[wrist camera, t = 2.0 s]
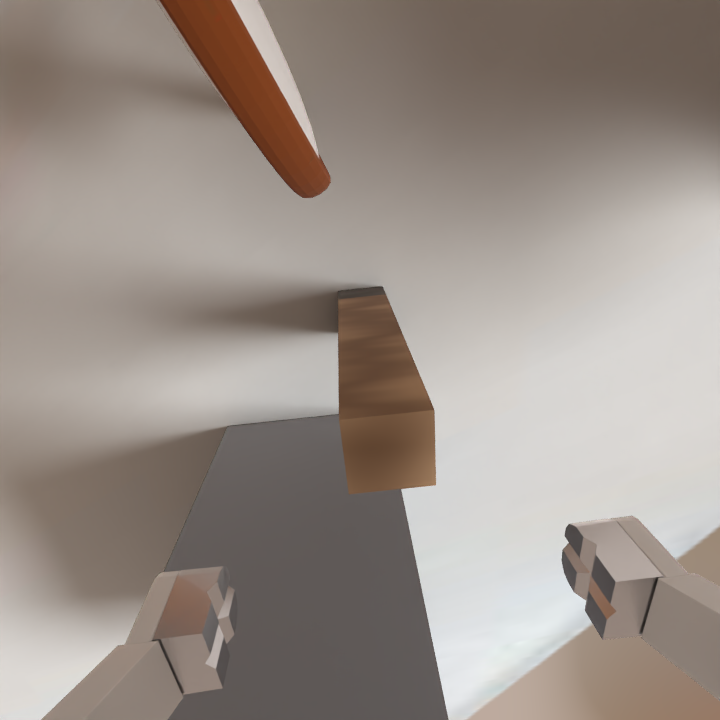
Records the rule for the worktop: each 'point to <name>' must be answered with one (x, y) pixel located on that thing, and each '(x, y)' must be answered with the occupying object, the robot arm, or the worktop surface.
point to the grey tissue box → (309, 584)
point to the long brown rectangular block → (381, 399)
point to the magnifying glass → (252, 83)
